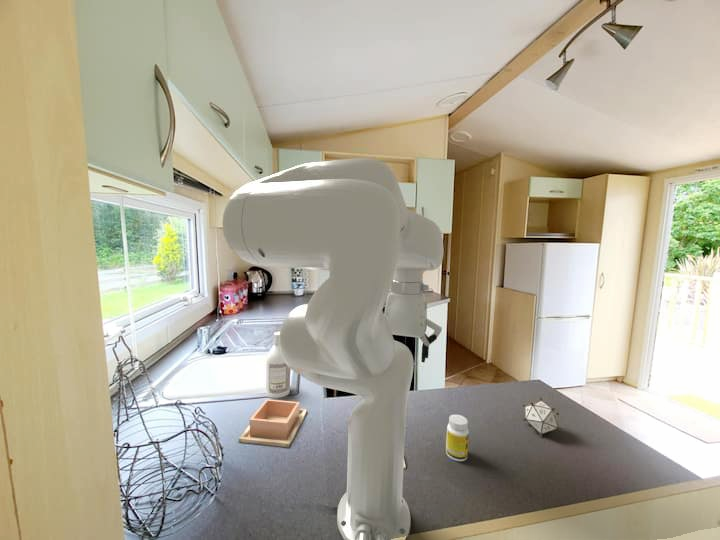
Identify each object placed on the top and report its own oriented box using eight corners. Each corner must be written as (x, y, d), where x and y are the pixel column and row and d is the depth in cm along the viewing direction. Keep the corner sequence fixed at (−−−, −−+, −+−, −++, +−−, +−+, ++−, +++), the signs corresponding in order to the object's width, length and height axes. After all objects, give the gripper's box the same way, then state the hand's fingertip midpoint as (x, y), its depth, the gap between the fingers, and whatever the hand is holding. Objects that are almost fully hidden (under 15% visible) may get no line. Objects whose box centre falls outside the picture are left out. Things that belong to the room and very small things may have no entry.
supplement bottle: (469, 463, 62) (471, 427, 61) (446, 460, 63) (448, 424, 62) (465, 448, 66) (467, 414, 66) (444, 445, 67) (446, 411, 67)
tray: (288, 452, 64) (288, 443, 63) (238, 446, 65) (238, 438, 65) (307, 416, 77) (307, 409, 77) (265, 412, 79) (265, 405, 79)
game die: (534, 446, 73) (513, 417, 72) (532, 419, 80) (513, 392, 79) (572, 444, 68) (551, 413, 67) (567, 416, 75) (547, 386, 74)
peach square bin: (286, 439, 66) (286, 423, 66) (249, 435, 67) (249, 419, 67) (299, 416, 75) (299, 402, 75) (266, 413, 76) (266, 399, 76)
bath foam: (293, 397, 87) (294, 333, 86) (271, 404, 83) (272, 337, 81) (284, 388, 92) (284, 328, 91) (263, 394, 88) (263, 332, 87)
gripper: (443, 289, 69) (440, 357, 70) (375, 284, 74) (373, 347, 75) (443, 293, 62) (439, 369, 63) (367, 287, 67) (365, 358, 68)
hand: (403, 357), depth 69 cm, fingers open, 9 cm apart
